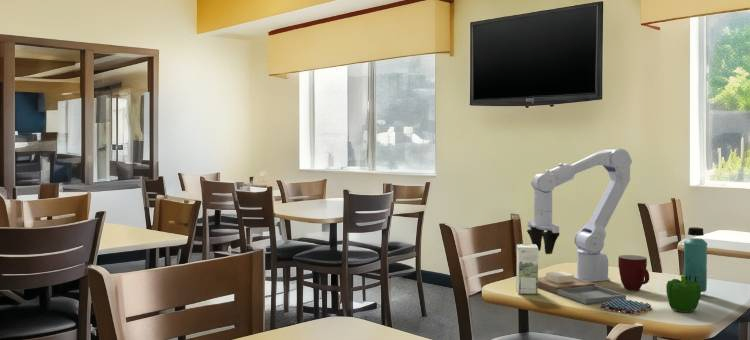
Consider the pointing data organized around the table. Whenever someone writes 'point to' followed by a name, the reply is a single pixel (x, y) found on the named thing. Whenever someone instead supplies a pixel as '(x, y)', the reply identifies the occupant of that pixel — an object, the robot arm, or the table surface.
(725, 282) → the table surface
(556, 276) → the tile
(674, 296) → the bell pepper
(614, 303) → the woven mat
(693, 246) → the beverage bottle
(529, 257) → the syrup box
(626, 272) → the mug
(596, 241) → the robot arm
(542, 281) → the brown square board
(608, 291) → the tray
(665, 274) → the table surface
